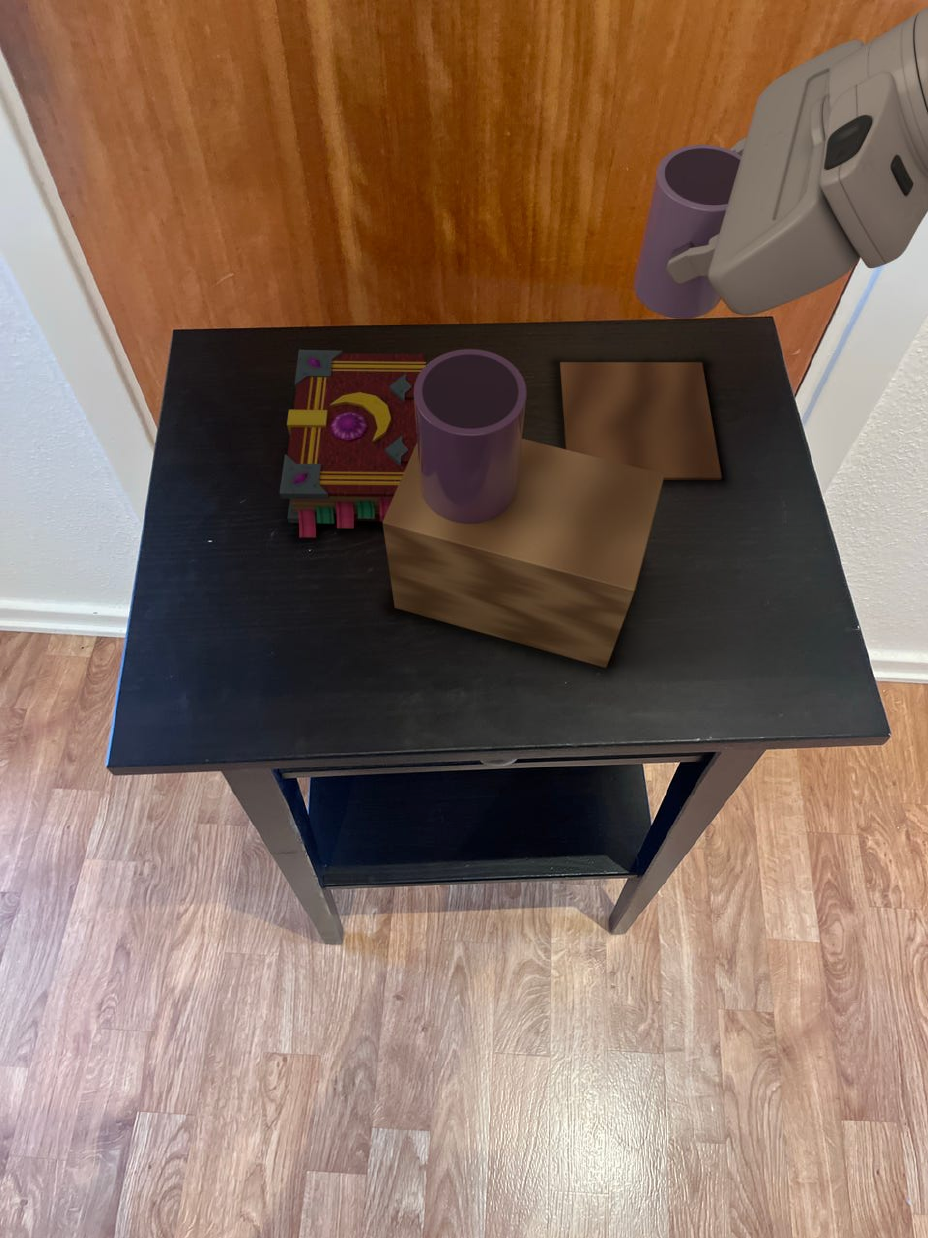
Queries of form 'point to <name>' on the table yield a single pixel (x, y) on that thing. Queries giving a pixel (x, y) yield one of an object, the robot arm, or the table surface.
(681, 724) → the table surface
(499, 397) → the plum cup
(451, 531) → the block
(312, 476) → the decorative book
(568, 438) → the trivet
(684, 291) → the lavender cup
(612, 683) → the table surface
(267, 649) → the table surface
